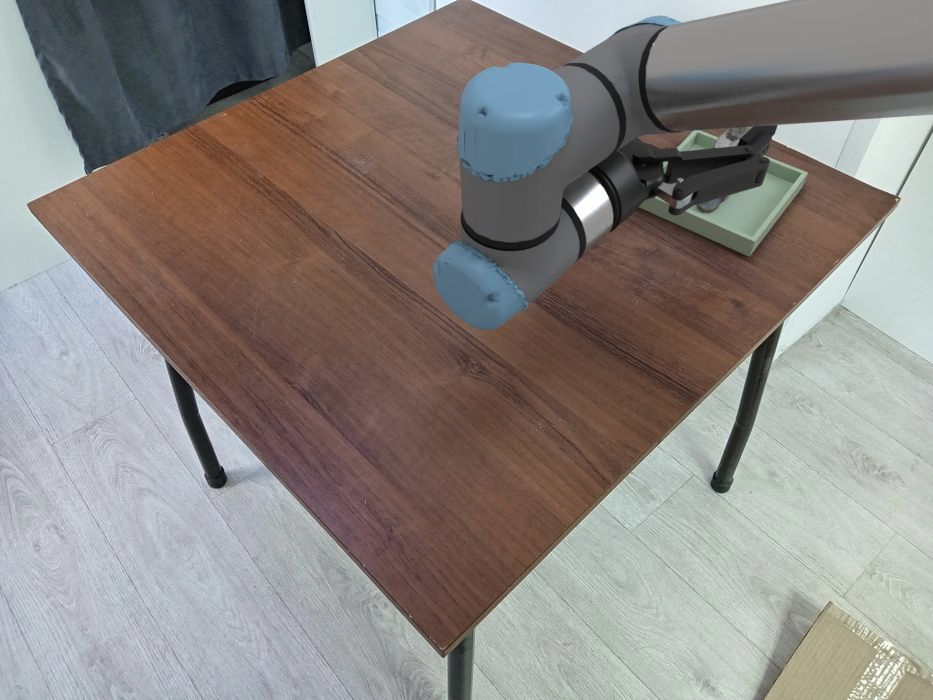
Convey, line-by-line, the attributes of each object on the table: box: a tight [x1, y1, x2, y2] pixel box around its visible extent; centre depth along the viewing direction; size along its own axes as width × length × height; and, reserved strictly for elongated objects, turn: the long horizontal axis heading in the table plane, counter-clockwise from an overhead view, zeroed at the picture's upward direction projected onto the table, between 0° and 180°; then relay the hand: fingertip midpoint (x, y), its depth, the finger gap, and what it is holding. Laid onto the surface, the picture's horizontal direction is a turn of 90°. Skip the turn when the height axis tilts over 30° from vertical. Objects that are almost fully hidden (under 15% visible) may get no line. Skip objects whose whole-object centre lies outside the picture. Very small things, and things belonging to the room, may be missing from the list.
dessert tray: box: [638, 130, 809, 258], centre depth 95 cm, size 15×15×2 cm
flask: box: [697, 127, 752, 213], centre depth 91 cm, size 9×3×11 cm, turn 137°
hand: (712, 93), depth 77 cm, fingers open, 13 cm apart
